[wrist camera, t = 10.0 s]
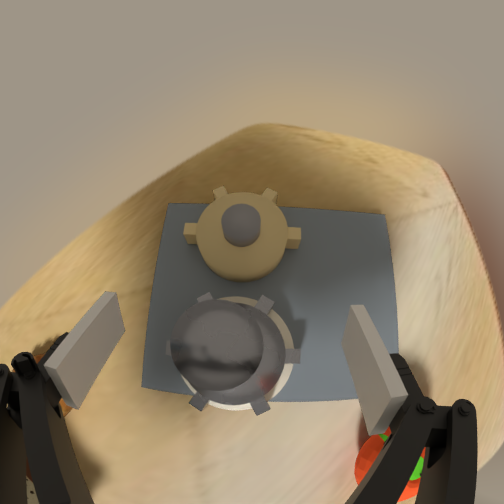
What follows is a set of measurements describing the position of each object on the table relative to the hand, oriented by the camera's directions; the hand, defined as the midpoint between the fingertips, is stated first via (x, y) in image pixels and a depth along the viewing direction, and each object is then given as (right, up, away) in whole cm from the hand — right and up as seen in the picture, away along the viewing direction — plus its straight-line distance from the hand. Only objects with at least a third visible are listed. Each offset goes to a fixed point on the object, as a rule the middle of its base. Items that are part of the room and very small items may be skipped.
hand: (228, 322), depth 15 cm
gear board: (+3, 0, +8) cm, 9 cm away
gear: (0, -4, +5) cm, 6 cm away
